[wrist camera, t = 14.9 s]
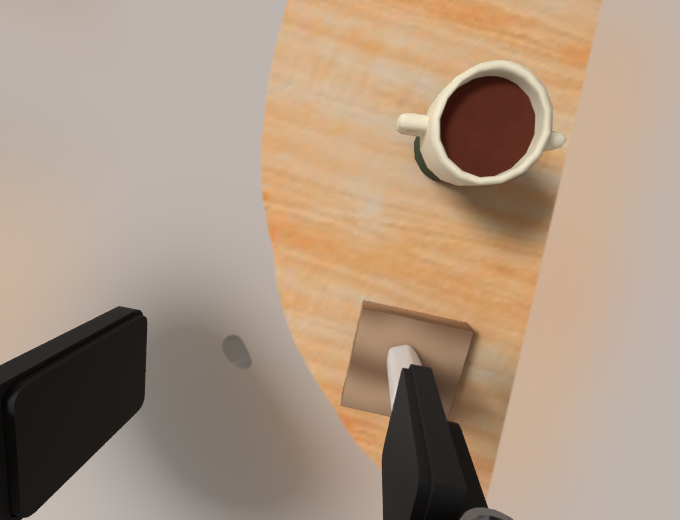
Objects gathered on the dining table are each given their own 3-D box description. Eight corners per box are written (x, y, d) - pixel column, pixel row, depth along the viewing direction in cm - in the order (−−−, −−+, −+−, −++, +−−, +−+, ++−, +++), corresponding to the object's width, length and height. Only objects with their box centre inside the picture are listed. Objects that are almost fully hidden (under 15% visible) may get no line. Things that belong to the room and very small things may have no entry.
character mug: (513, 115, 33) (604, 70, 20) (495, 193, 34) (570, 198, 22) (395, 101, 33) (411, 47, 21) (382, 178, 35) (390, 173, 22)
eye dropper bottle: (434, 350, 35) (467, 431, 24) (417, 398, 36) (439, 499, 25) (392, 338, 35) (403, 413, 24) (376, 386, 37) (379, 481, 25)
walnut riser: (363, 300, 37) (362, 308, 35) (466, 322, 37) (473, 332, 35) (342, 392, 40) (340, 405, 37) (439, 414, 39) (444, 429, 37)
